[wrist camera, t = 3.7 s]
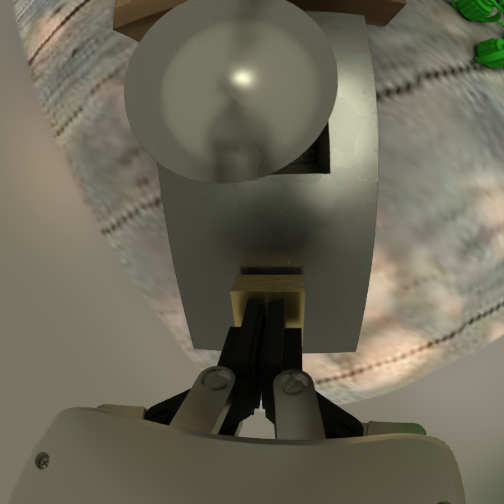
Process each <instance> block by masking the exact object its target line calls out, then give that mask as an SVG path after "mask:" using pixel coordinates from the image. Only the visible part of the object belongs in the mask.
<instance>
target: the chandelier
mask: <svg viewBox="0 0 504 504" xmlns="http://www.w3.org/2000/svg"><path fill="white" fill-rule="evenodd" d="M450 1H451V3H452V5H453V6H454V8H455V9H457V10H459V11H461V13H462V14H463V15H464V16H465V17H466V18H468V19H470V20H472V21H481V22H496V21H497V22H498V23H499V24H501V25H502V26H503V27H504V24H503V23H502V22H500V21H499V19H500V18H501V11H502V12H503V14H504V8H503V7H504V4H503V3H504V0H498V1H499V3H497V2H496V1H495V0H458V1H457V4H456V3H455V2H454V1H453V0H450ZM501 5H502V6H503V7H502V6H501ZM493 7H497V9H498V13H497V14H496V15H495V16H492V17H487V16H489V14H490V13H491V12H492V11H493ZM500 9H501V11H500ZM466 10H467V11H466ZM477 53H478V56H476V57H475V59H476V61H477V63H478V64H482V63H484V64H485V65H486V66H487V67H489V68H498V67H504V40H503V39H493V38H492V39H489V40H486V41H483V42H480V43H479V45H478V47H477Z"/></svg>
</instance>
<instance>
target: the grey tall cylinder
mask: <svg viewBox="0 0 504 504" xmlns="http://www.w3.org/2000/svg"><path fill="white" fill-rule="evenodd" d="M337 89H338V70H337V65H336V59H335V56H334V53H333V50H332V47H331V45H330V43H329V41H328V39H327V37H326V36H325V34H324V32H323V31H322V30H321V28H320V27H319V26H318V25H317V23H316V22H315V21H314V20H313V19H312V18H311V17H310V16H309V15H308V14H307V13H305V12H304V11H303V10H301V9H300V8H298V7H297V6H296V5H294V4H292V3H290V2H288V1H286V0H188V1H186V2H184V3H182V4H180V5H178V6H176V7H175V8H173V9H172V10H170V11H169V12H167V13H166V14H165V15H164V16H162V17H161V18H160V19H159V20H158V21H157V22H156V23H155V24H154V25H153V26H152V27H151V28H150V29H149V30H148V31H147V33H146V34H145V35H144V37H143V38H142V39H141V41H140V42H139V44H138V46H137V48H136V49H135V51H134V53H133V56H132V58H131V60H130V63H129V66H128V70H127V74H126V80H125V90H124V99H125V108H126V113H127V116H128V120H129V123H130V125H131V128H132V130H133V133H134V134H135V136H136V138H137V139H138V141H139V143H140V144H141V145H142V146H143V148H144V149H145V150H146V152H147V153H148V154H149V155H150V156H152V157H153V158H154V159H155V160H156V161H157V162H158V163H160V164H161V165H163V166H164V167H165V168H167V169H169V170H171V171H172V172H174V173H176V174H178V175H181V176H184V177H186V178H189V179H193V180H197V181H201V182H207V183H215V184H230V183H238V182H245V181H249V180H253V179H258V178H261V177H263V176H266V175H268V174H271V173H273V172H275V171H277V170H279V169H281V168H283V167H285V166H287V165H288V164H289V163H291V162H292V161H294V160H295V159H297V158H298V157H299V156H300V155H301V154H303V153H304V152H305V151H306V150H307V149H308V148H309V147H310V146H311V145H312V144H313V142H314V141H315V140H316V139H317V138H318V137H319V135H320V134H321V132H322V130H323V129H324V127H325V126H326V124H327V122H328V120H329V118H330V116H331V113H332V111H333V108H334V104H335V101H336V96H337Z"/></svg>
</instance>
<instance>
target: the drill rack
mask: <svg viewBox="0 0 504 504" xmlns="http://www.w3.org/2000/svg"><path fill="white" fill-rule="evenodd" d="M186 1H188V0H115V9H114V20H113V30H115V31H117V32H120V33H122V34H124V35H126V36H128V37H130V38H132V39H135V40H137V41H139V42H140V41H141V39H142V38H143V37H144V35H145V34H146V33H147V31H148V30H149V29H150V28H151V27H152V26H153V25H154V24H155V23H156V22H157V21H158V20H159V19H160V18H161V17H162V16H164V15H165V14H166V13H167V12H169V11H170V10H172V9H173V8H175V7H176V6H178V5H180V4H182V3H184V2H186ZM286 1H288V2H290V3H292V4H294V5H296V6H297V7H298V8H300V9H301V10H303V11H316V12H334V13H346V14H355V15H363V16H364V17H365V21H366V24H372V25H378V26H384V27H385V26H386V25H387V24H388V23H389V22H390V21H391V20H392V19H393V17H394V16H395V15H396V14H397V13H398V12H399V11H400V10H401V9H402V8H403V7H404V6H405V5H406V1H405V0H286Z"/></svg>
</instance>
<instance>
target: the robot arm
mask: <svg viewBox="0 0 504 504" xmlns="http://www.w3.org/2000/svg"><path fill="white" fill-rule="evenodd" d="M261 394H262V406H263V409H265V413H266V418H268V419H269V420H270V421H271V422H272V423H273V424H274V431H275V439H260V438H246V437H238V435H239V433H240V430H241V428H242V425H243V420H244V419H246V418H248V417H249V416H250V415H254V409H255V408H257V409H259V406H260V400H261ZM7 504H466V501H465V493H464V488H463V483H462V478H461V474H460V471H459V468H458V464H457V462H456V459H455V457H454V454H453V452H452V451H451V449H450V447H449V446H448V445H447V444H446V443H445V442H444V441H442V440H440V439H438V438H435V437H432V436H428V435H426V431H425V429H424V428H423V427H422V426H421V425H419V424H416V423H392V422H376V421H369V422H368V423H361V422H360V421H359V420H357V419H356V418H355V417H353V416H352V415H350V414H349V413H347V412H346V411H344V410H343V409H341V408H340V407H338V406H337V405H335V404H334V403H332V402H331V401H330V400H328V399H327V398H325V397H324V396H322V395H321V394H319V393H318V392H317V391H315V388H314V384H313V380H312V378H311V376H310V375H308V374H307V373H306V372H304V371H302V328H285V299H273V303H271V302H269V303H268V309H267V315H266V310H265V302H261V300H260V299H248V301H247V305H246V309H245V312H244V316H243V320H242V324H241V327H234V326H231V327H230V328H229V330H228V334H227V337H226V340H225V343H224V346H223V349H222V352H221V355H220V359H219V362H218V365H217V366H214V367H210V368H207V369H205V370H204V371H202V372H201V373H200V375H199V376H198V378H197V380H196V381H195V383H194V384H193V386H192V388H191V389H189V390H187V391H185V392H183V393H180V394H178V395H176V396H174V397H172V398H170V399H167V400H165V401H163V402H161V403H158V404H156V405H154V406H152V407H151V408H150V409H146V408H145V407H144V406H124V405H112V404H103V405H100V406H98V407H97V408H94V407H73V408H68V409H65V410H63V411H61V412H60V413H59V414H57V415H56V417H54V419H53V420H52V421H51V422H50V424H49V425H48V426H47V427H46V429H45V430H44V432H43V433H42V435H41V436H40V438H39V440H38V441H37V443H36V444H35V446H34V448H33V449H32V451H31V453H30V455H29V457H28V458H27V461H26V462H25V464H24V467H23V468H22V470H21V472H20V474H19V476H18V478H17V480H16V482H15V485H14V487H13V489H12V492H11V494H10V497H9V499H8V501H7Z"/></svg>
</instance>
